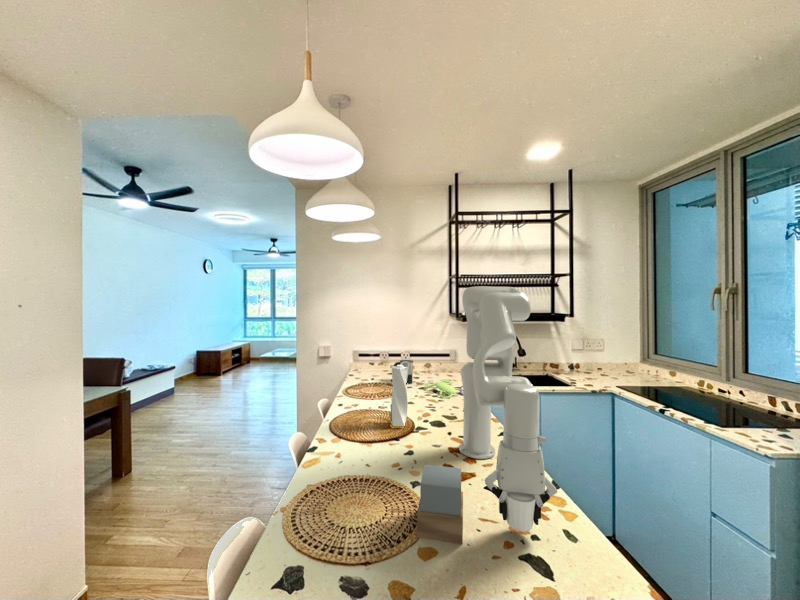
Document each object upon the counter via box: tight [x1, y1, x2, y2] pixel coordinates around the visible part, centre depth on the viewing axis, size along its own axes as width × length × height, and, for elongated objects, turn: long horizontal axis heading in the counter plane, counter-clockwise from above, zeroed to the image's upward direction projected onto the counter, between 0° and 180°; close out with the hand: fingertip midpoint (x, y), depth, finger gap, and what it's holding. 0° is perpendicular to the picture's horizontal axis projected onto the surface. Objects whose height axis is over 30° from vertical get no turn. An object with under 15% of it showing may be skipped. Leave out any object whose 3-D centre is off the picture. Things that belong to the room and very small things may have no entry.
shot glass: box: [506, 492, 536, 533], centre depth 73 cm, size 7×7×7 cm
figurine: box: [423, 379, 464, 399], centre depth 195 cm, size 18×27×6 cm
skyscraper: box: [389, 361, 410, 426], centre depth 139 cm, size 8×8×28 cm
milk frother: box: [390, 359, 414, 384], centre depth 215 cm, size 14×16×15 cm
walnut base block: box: [416, 491, 464, 545], centre depth 76 cm, size 10×10×6 cm
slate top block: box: [419, 464, 462, 516], centre depth 76 cm, size 9×9×6 cm
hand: (519, 517), depth 73 cm, fingers closed on shot glass, 6 cm apart
